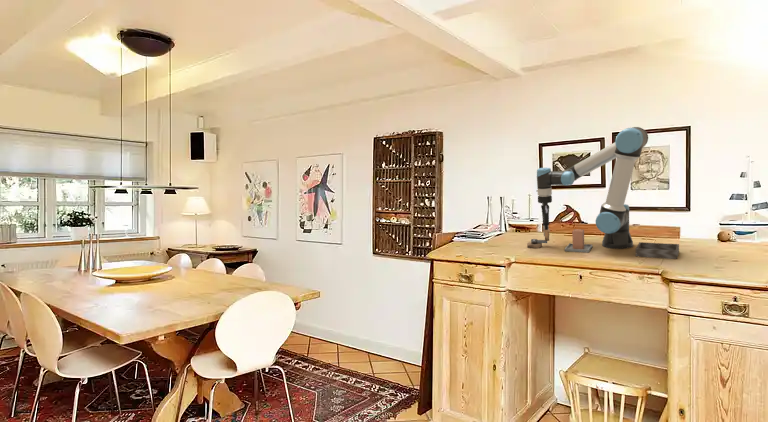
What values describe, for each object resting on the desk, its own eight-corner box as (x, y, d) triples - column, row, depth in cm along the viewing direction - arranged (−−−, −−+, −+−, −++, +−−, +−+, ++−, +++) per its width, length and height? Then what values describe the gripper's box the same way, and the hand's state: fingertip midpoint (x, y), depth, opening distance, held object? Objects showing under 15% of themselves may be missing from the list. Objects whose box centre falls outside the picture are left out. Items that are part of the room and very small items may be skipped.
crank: (530, 243, 274) (530, 230, 273) (531, 241, 277) (531, 228, 276) (549, 243, 269) (549, 230, 268) (550, 242, 272) (550, 228, 271)
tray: (592, 247, 263) (592, 244, 263) (588, 252, 253) (588, 249, 253) (569, 246, 270) (569, 243, 270) (564, 251, 260) (564, 248, 260)
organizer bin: (679, 252, 240) (679, 244, 240) (677, 259, 229) (677, 250, 229) (639, 249, 250) (639, 242, 250) (635, 256, 239) (635, 248, 239)
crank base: (525, 247, 274) (525, 244, 274) (529, 244, 280) (529, 241, 280) (539, 248, 270) (539, 245, 269) (543, 245, 276) (543, 241, 276)
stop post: (584, 247, 262) (584, 229, 261) (582, 249, 258) (582, 231, 256) (574, 246, 265) (574, 229, 263) (572, 249, 261) (572, 231, 259)
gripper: (536, 194, 277) (538, 233, 281) (539, 197, 264) (540, 239, 269) (550, 193, 275) (551, 233, 279) (553, 196, 263) (554, 238, 267)
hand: (546, 236), depth 274 cm, fingers closed
